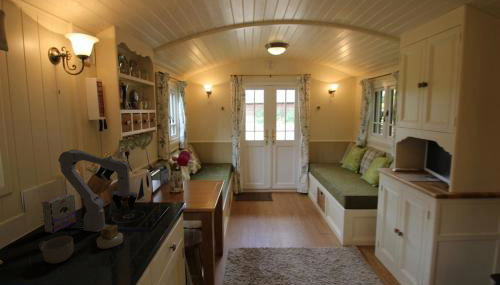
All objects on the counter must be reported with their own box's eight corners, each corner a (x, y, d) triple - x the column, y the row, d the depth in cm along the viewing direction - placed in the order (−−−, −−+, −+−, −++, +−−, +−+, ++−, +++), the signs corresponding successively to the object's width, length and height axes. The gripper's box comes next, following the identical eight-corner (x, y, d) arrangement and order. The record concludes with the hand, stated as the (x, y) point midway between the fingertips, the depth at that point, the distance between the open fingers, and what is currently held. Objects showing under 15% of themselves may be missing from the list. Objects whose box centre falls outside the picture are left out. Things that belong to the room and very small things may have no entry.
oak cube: (101, 239, 124) (100, 229, 123) (109, 234, 129) (108, 224, 128) (110, 240, 123) (110, 229, 122) (118, 235, 128) (117, 225, 127)
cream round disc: (91, 248, 122) (90, 241, 121) (108, 236, 132) (108, 231, 132) (112, 250, 119) (111, 244, 119) (128, 239, 130) (127, 233, 130)
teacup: (80, 255, 115) (79, 237, 114) (55, 269, 105) (53, 250, 104) (57, 250, 119) (56, 233, 118) (31, 263, 109) (29, 244, 108)
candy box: (69, 221, 151) (66, 193, 149) (77, 222, 149) (74, 194, 147) (44, 232, 137) (41, 201, 135) (53, 233, 136) (50, 202, 134)
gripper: (106, 185, 139) (108, 210, 141) (130, 187, 136) (132, 212, 138) (116, 182, 146) (117, 206, 148) (139, 183, 143) (140, 208, 145)
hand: (125, 209), depth 143 cm, fingers open, 7 cm apart
